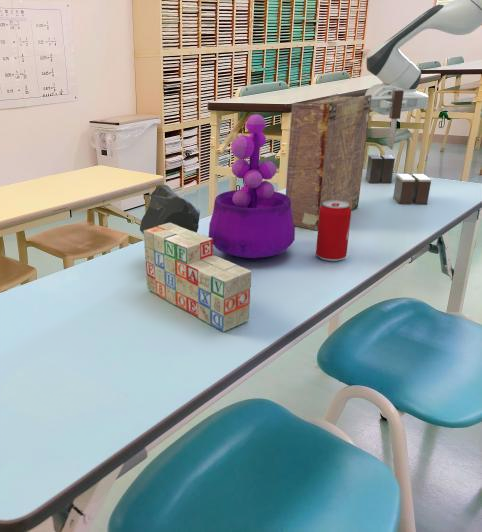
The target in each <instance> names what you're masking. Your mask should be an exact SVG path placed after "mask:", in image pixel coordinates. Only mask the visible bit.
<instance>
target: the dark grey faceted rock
mask: <svg viewBox="0 0 482 532" xmlns="http://www.w3.org/2000/svg"><path fill="white" fill-rule="evenodd" d="M147 195H148V196H149V197H150V199H149V201H148V202H149V203H148V206H147V209H146V211H145V213H144V215H143V217H142V218H141V221H140V225H139V231H140V232H141V234H142V235H143V236H144V230H147V229H150V228H153V227H157V226H159V225H163V224H166V223H172V224H175V225H178V226H179V227H182V228H185V229H188V230H190V231H193V232H196V233H198V230H199V226H200V225H199V222H200V215H201V210H200V209H199V208H198V207H197V206H195V205H193V203H191V202H190V201H189V200H187V199H186V198H182V197H180V196H179V195H178V194H177V193H176V192H174V191H173V189H172V188H171V187H170V186H169V185H167V184H159V185H157V186H156V188H155V189H154V190H153V191H152V192H151V193H147Z"/></svg>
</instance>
